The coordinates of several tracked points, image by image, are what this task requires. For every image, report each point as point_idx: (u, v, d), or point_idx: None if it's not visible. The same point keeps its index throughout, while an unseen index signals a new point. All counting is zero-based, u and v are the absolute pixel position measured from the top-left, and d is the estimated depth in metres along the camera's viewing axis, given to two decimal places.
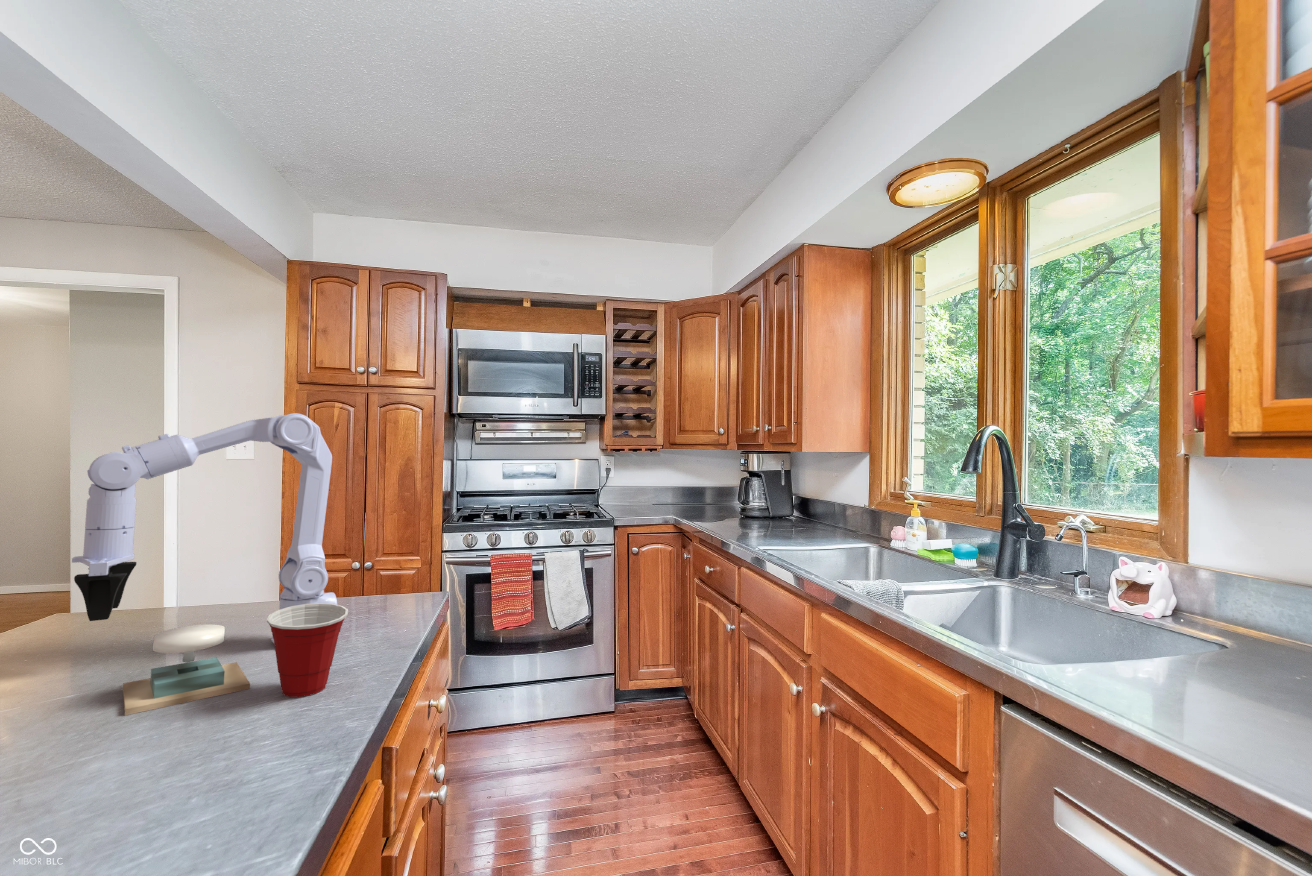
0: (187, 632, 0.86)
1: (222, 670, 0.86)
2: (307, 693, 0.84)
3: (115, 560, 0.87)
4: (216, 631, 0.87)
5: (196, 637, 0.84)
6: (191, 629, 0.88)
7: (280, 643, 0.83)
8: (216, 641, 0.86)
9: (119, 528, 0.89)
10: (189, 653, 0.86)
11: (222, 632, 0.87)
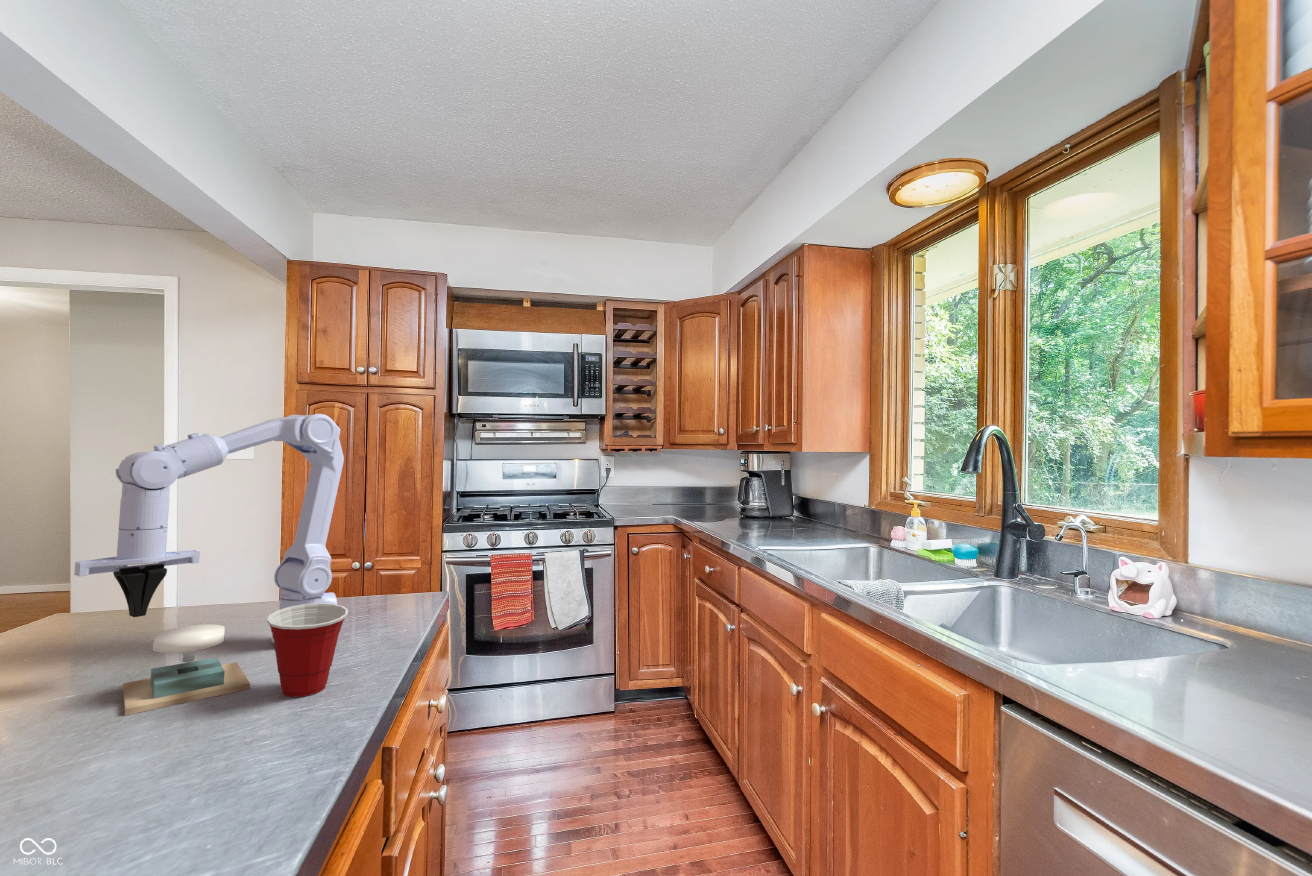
0: (187, 632, 0.86)
1: (222, 670, 0.86)
2: (307, 693, 0.84)
3: (104, 562, 0.83)
4: (216, 631, 0.87)
5: (196, 637, 0.84)
6: (191, 629, 0.88)
7: (280, 643, 0.83)
8: (216, 641, 0.86)
9: (126, 529, 0.86)
10: (189, 653, 0.86)
11: (222, 632, 0.87)
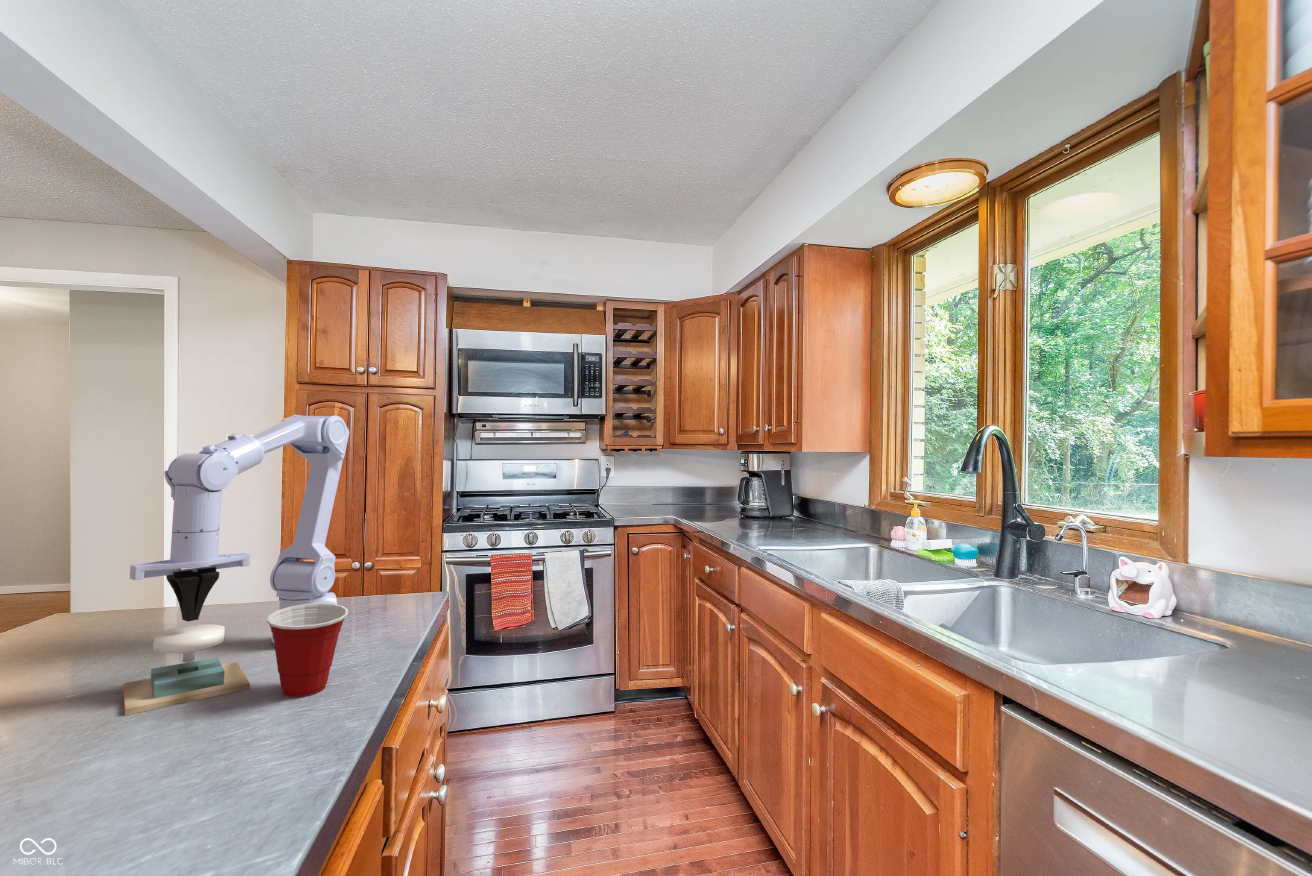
0: (187, 632, 0.86)
1: (222, 670, 0.86)
2: (307, 693, 0.84)
3: (159, 565, 0.82)
4: (216, 631, 0.87)
5: (196, 637, 0.84)
6: (191, 629, 0.88)
7: (280, 643, 0.83)
8: (216, 641, 0.86)
9: (180, 532, 0.84)
10: (189, 653, 0.86)
11: (222, 632, 0.87)
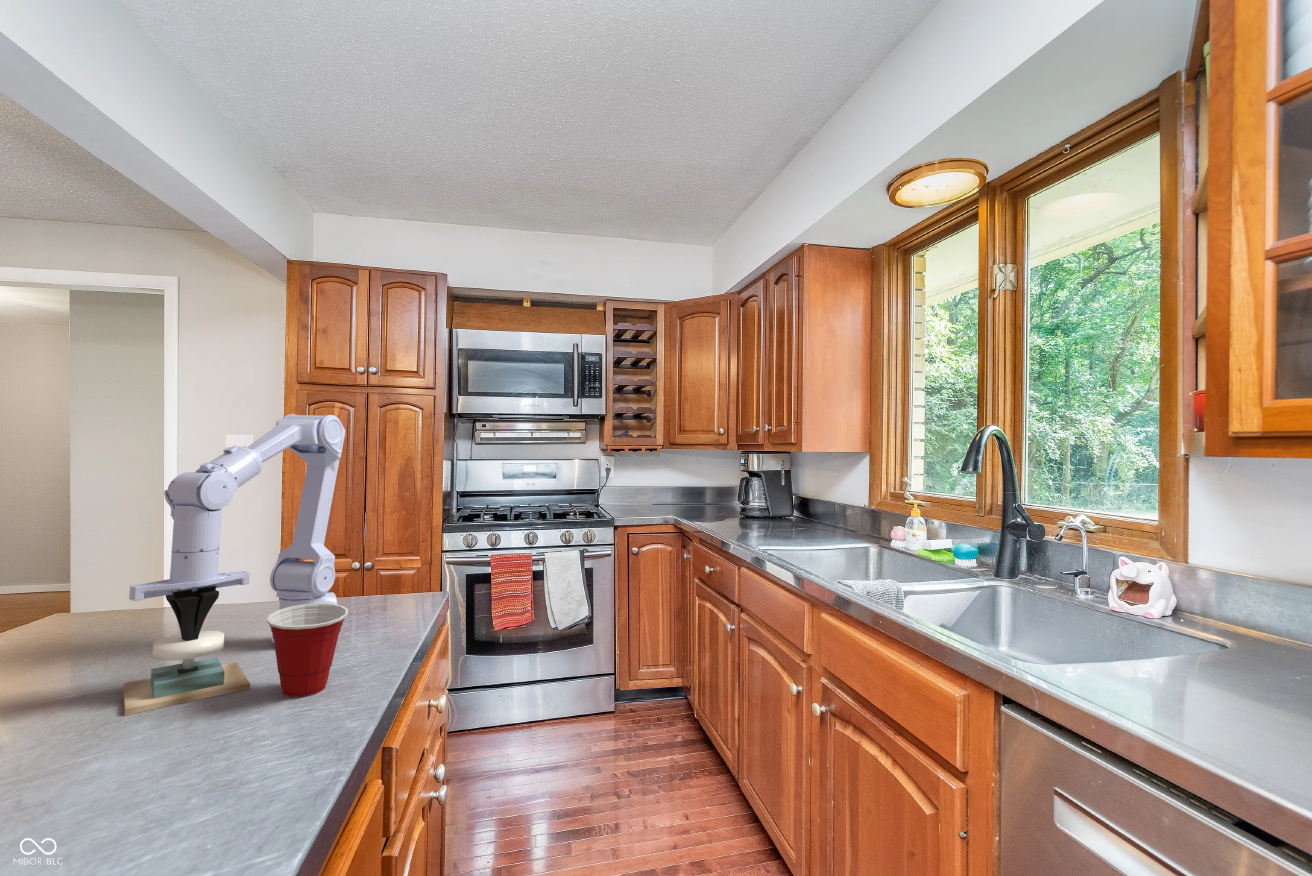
0: None
1: (222, 670, 0.86)
2: (307, 693, 0.84)
3: (158, 586, 0.82)
4: (216, 638, 0.87)
5: (196, 644, 0.84)
6: None
7: (280, 643, 0.83)
8: (216, 648, 0.86)
9: (179, 552, 0.84)
10: (189, 660, 0.86)
11: (222, 639, 0.87)
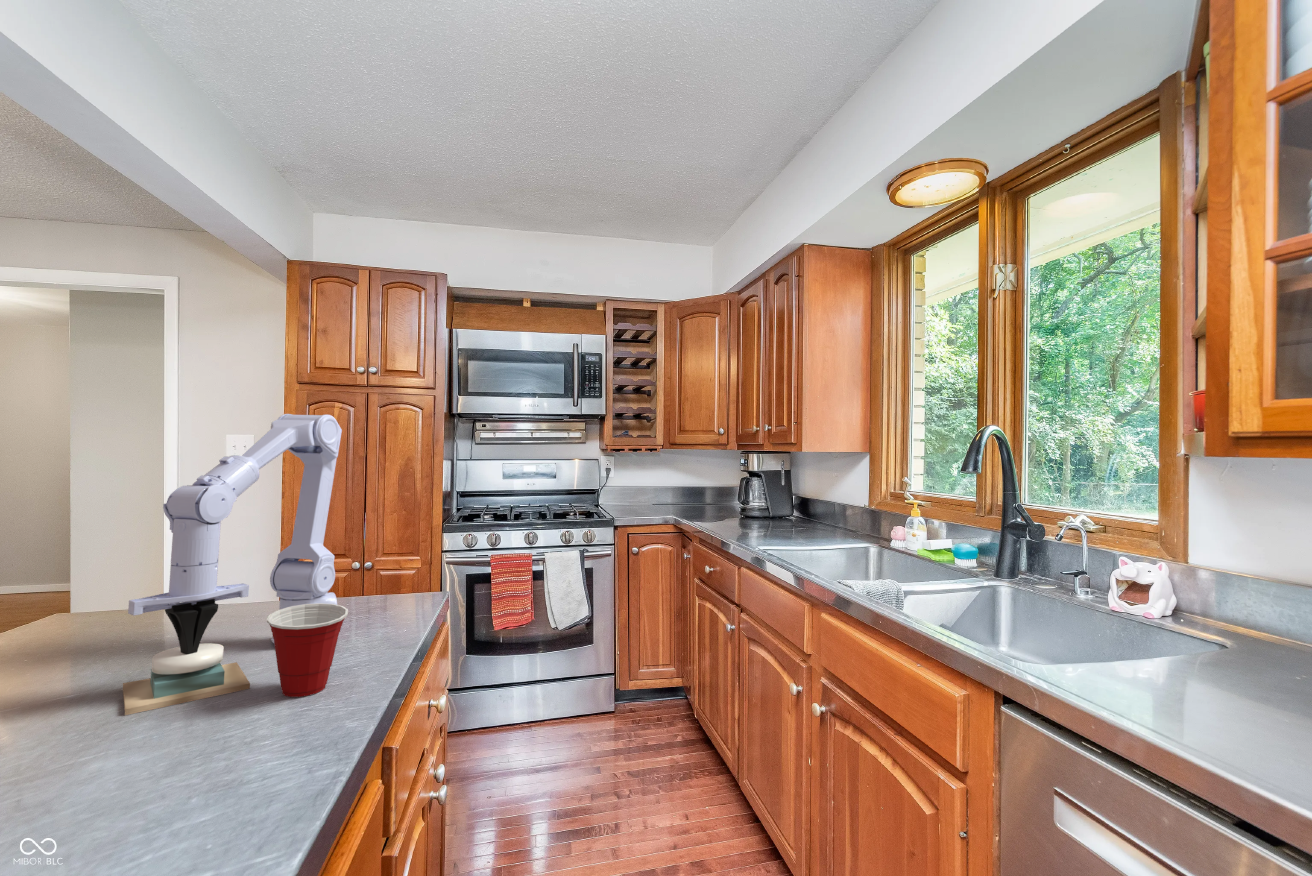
0: None
1: (222, 670, 0.86)
2: (307, 693, 0.84)
3: (157, 600, 0.82)
4: (215, 651, 0.87)
5: (195, 657, 0.84)
6: None
7: (280, 643, 0.83)
8: (215, 661, 0.86)
9: (178, 565, 0.84)
10: None
11: (221, 652, 0.87)
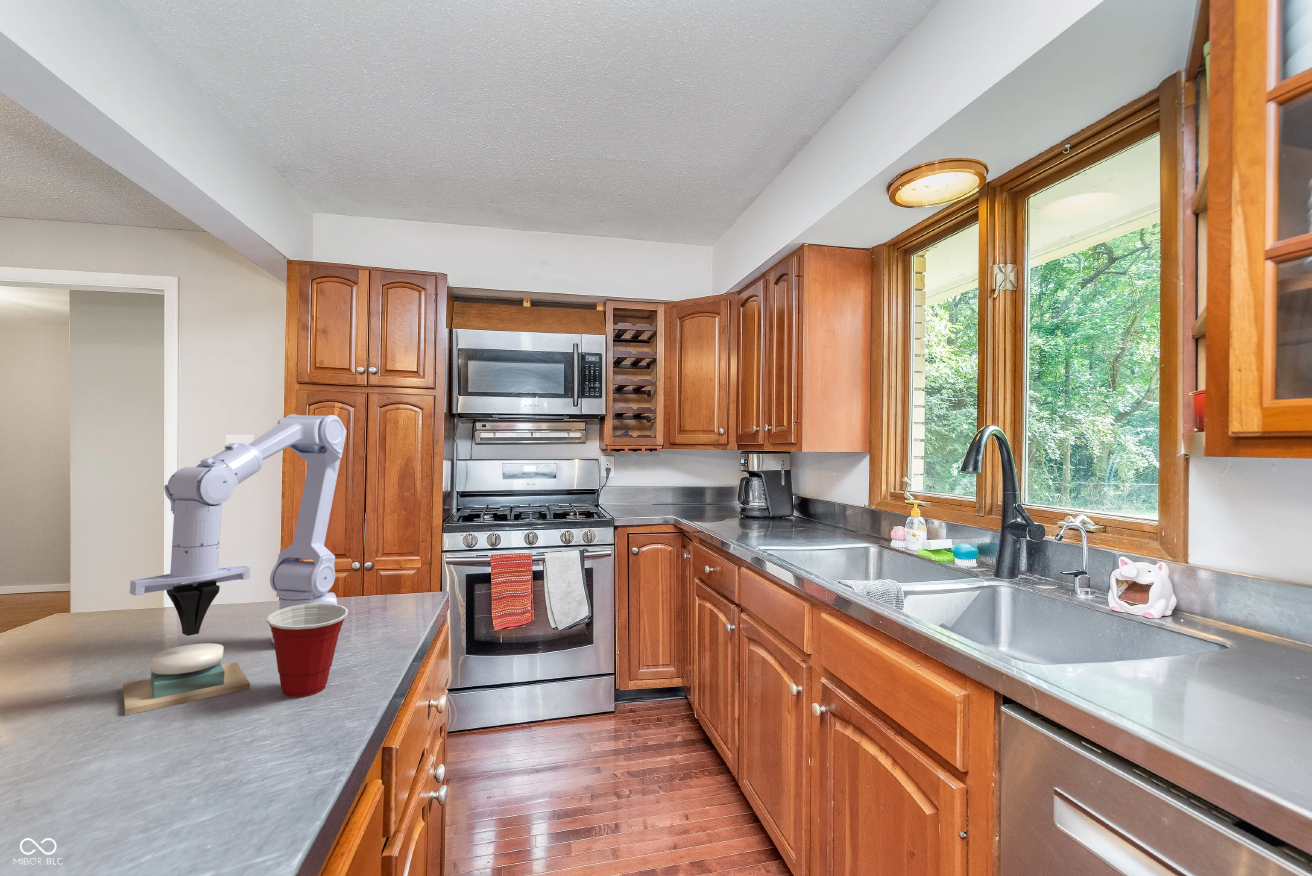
0: (186, 652, 0.86)
1: (222, 670, 0.86)
2: (307, 693, 0.84)
3: (159, 580, 0.82)
4: (215, 651, 0.87)
5: (195, 657, 0.84)
6: (190, 649, 0.87)
7: (280, 643, 0.83)
8: (215, 661, 0.86)
9: (180, 546, 0.84)
10: None
11: (221, 652, 0.87)
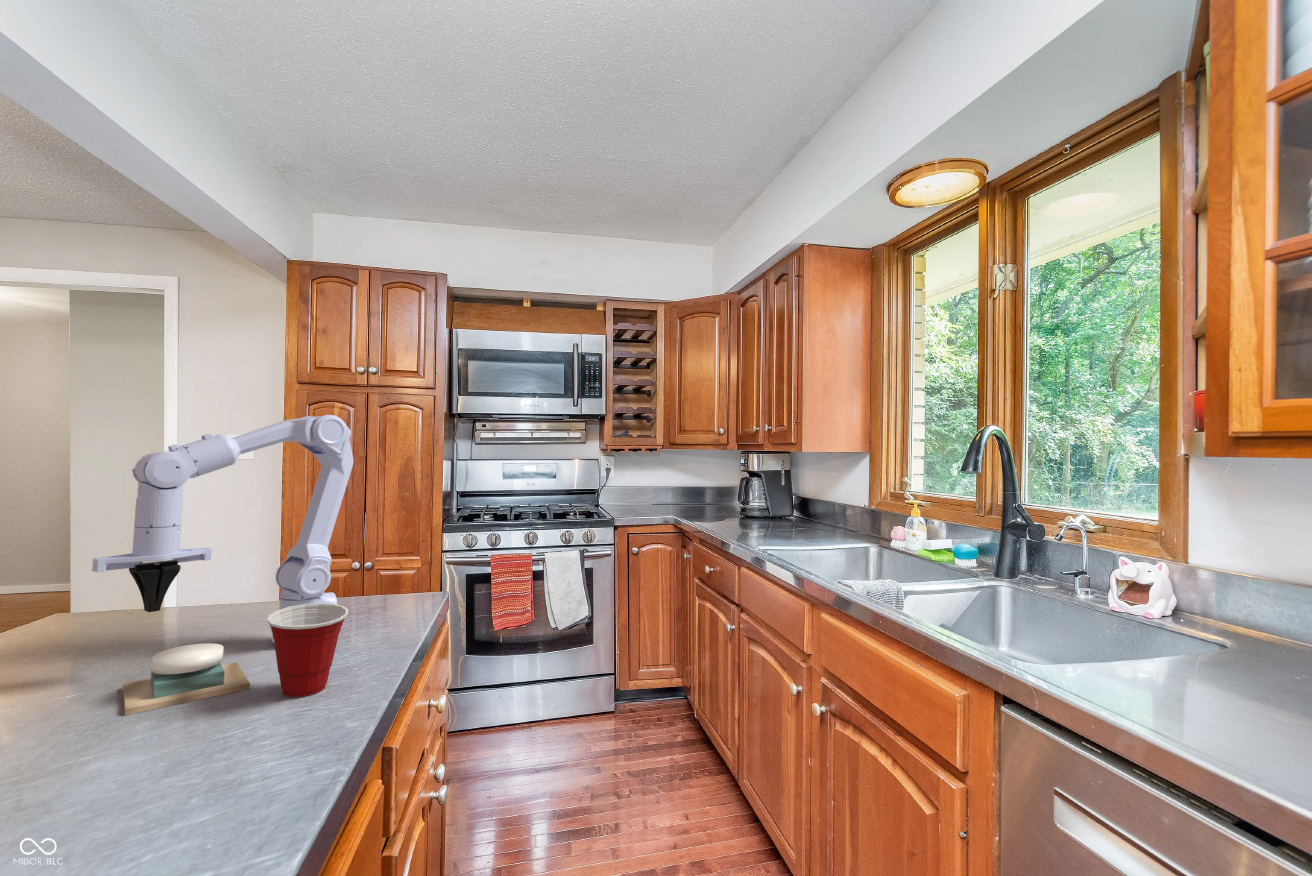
0: (186, 652, 0.86)
1: (222, 670, 0.86)
2: (307, 693, 0.84)
3: (120, 558, 0.86)
4: (215, 651, 0.87)
5: (195, 657, 0.84)
6: (190, 649, 0.87)
7: (280, 643, 0.83)
8: (215, 661, 0.86)
9: (141, 527, 0.88)
10: None
11: (221, 652, 0.87)
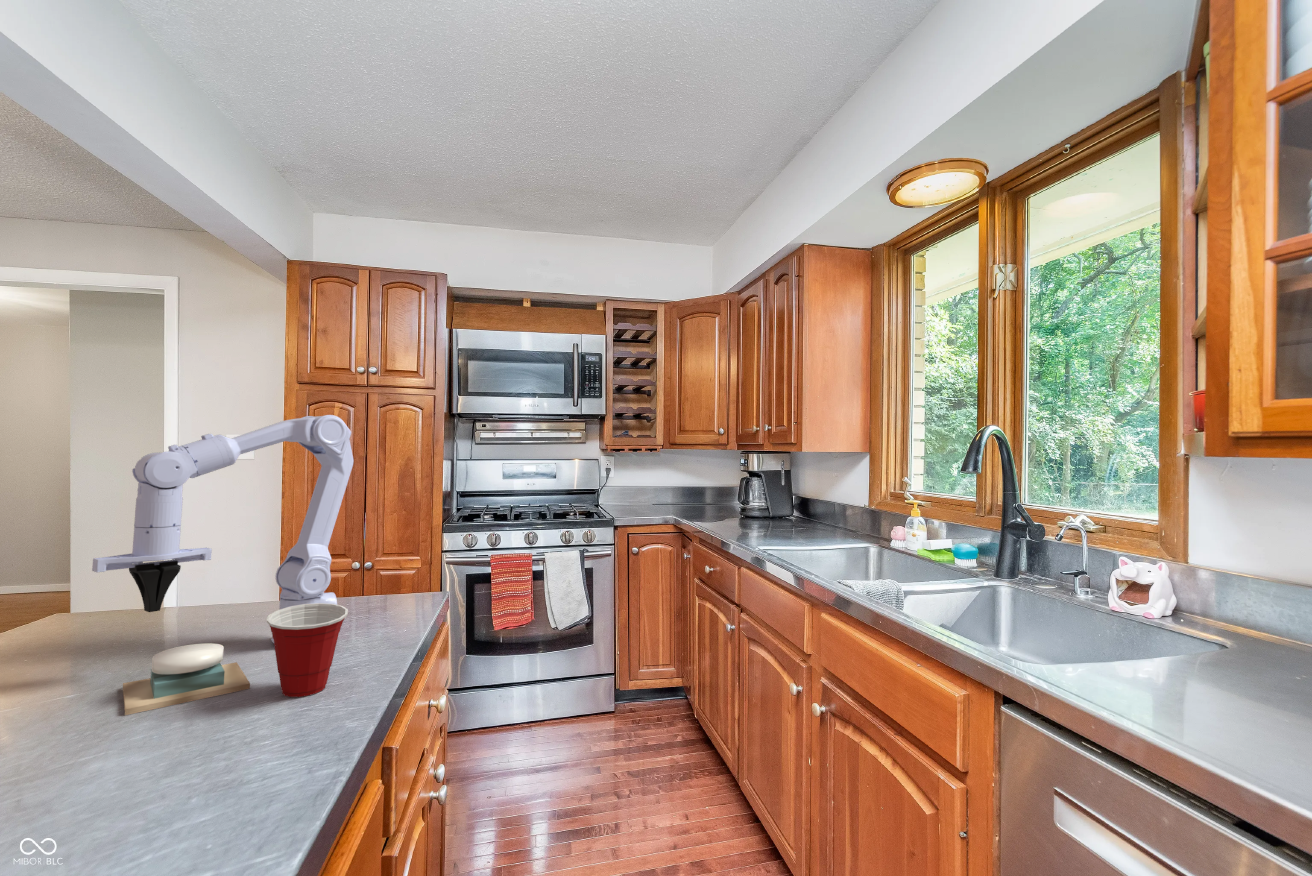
0: (186, 652, 0.86)
1: (222, 670, 0.86)
2: (307, 693, 0.84)
3: (120, 558, 0.86)
4: (215, 651, 0.87)
5: (195, 657, 0.84)
6: (190, 649, 0.87)
7: (280, 643, 0.83)
8: (215, 661, 0.86)
9: (141, 527, 0.88)
10: None
11: (221, 652, 0.87)
